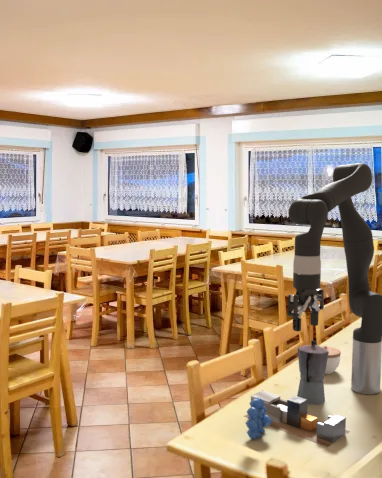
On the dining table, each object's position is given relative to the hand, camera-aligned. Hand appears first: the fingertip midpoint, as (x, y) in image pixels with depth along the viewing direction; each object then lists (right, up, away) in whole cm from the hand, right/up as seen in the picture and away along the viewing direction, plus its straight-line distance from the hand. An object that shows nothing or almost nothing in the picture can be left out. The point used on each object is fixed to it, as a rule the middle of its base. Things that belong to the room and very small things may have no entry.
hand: (305, 328), depth 154 cm
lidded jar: (+17, -24, +46) cm, 55 cm away
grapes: (-14, -29, -8) cm, 33 cm away
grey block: (-5, -27, +1) cm, 27 cm away
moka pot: (+5, -27, +16) cm, 32 cm away
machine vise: (-3, -28, 0) cm, 28 cm away
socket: (+5, -28, -8) cm, 29 cm away
